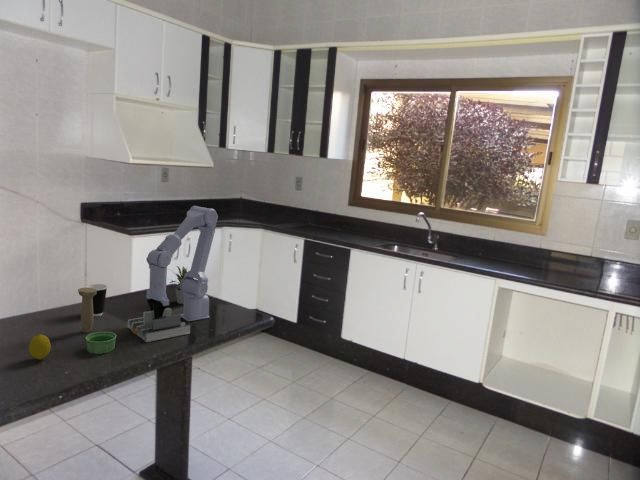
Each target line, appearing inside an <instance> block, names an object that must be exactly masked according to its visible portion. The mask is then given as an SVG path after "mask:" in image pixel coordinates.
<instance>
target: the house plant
mask: <svg viewBox="0 0 640 480" xmlns="http://www.w3.org/2000/svg"><path fill="white" fill-rule="evenodd" d="M176 268H177V270H178V272H179V274H178V273H176V272H175V271H174V270H172V269H170V268H168V270H170V271H171V272H172V273H173V274H175V276H176V277H177V278H176V279H177V281H176V280H173V279H171V281H170V282H169V284H171V283H177V286H176V287H175V295H176V302H177V304H180V305H184V295H183V292H182V291H181V289H180V283H181V281H182V280H183V278H184V275H185V273H187V272H188V270H187V269H188V268H187V267H185V266H184V265H183V266H182V269H181V268H180V267H179V266H178V265H176Z"/></svg>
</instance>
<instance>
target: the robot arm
mask: <svg viewBox="0 0 640 480" xmlns="http://www.w3.org/2000/svg"><path fill="white" fill-rule="evenodd" d="M218 219H219V216H218V213H217V211H216V209H214V208H211V207H210V208H207V207H204V206H202V207H201V206H198V205H193V206H191V207H190V209H189V210H188V211H187V212H186V217H185V218H184V220H183V221H182V222H181V224H180V225H179V226H178V228H177V229H176V230H175V232H174V233H173V234H168V235H166V236H165V237H164V238H165V239H163V241H162V242H161V243H160V244H159V245H158V246H157V248H156V249H152V250H151V251H150V252H148V254H147V257H146V262H147V264H148V269H149V286H148V287H149V289H146V295H145V298H146V302H147V304H148V306H149V309H150V310H149V311H153V310H154V318H157V317H162V316H163V312H164V310H165V309H166V308H167V306H170V299H169V298H168V296H167V279H168V277H167V274H168V272H167V271H168V266H169V265H170V264H171V261H172V258H173V255H174V254H175V253H176V251H177V250H178V249H179V248H180V247H181V245H182V241H183V239H184V238H185V237H186V236H187V235H188V234H189V233H190V232H191V231H192V230H193V229H194V228H195V227H197V229H198V230H199V236H198V240H197V243H196V247H195V251H194V255H193V259H192V263H191V268H190V270H187V273H185V275H184V278H183V280H182V281H181V283H180V282H179V283H180V286H179V287H180V289H181V291H182V292H183V295H184V304H183V311H182V312H183V313H181V314H180V313H179V314H180V315H181V318H182V319H183V320H184V321H187V322H193V321H199V320H204V319H209V318H210V298H209V296H208V294H207V292H208V288H209V285H208V283H209V278H208V277H207V275H206V274H205V271H206V267H207V264H208V261H209V257H210V253H211V249H212V245H213V241H214V238H215V233H216V226H217V222H218Z"/></svg>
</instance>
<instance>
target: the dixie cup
mask: <svg viewBox="0 0 640 480" xmlns="http://www.w3.org/2000/svg"><path fill="white" fill-rule="evenodd" d="M84 288H93V289H96V290H97V294H96V295H94V296H93V314H94V317H101V316H103V315H102V314H104V311H105V305H106V296H107V289H108V285H106V284H104V283H103V284H102V283H93V284H92V283H91V284H88V285H85V286H84Z"/></svg>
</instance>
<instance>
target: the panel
mask: <svg viewBox="0 0 640 480" xmlns="http://www.w3.org/2000/svg"><path fill="white" fill-rule="evenodd" d="M172 313H173V311H172V308H171V307H166V308H165V310H164V312H163V316H169V315H173V314H172ZM142 315H143V316H142V317H143V325H146V324H151V323H152V318H154V310H153V311H151V310H148V311H143V312H142ZM163 316H162V317H163Z"/></svg>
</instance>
